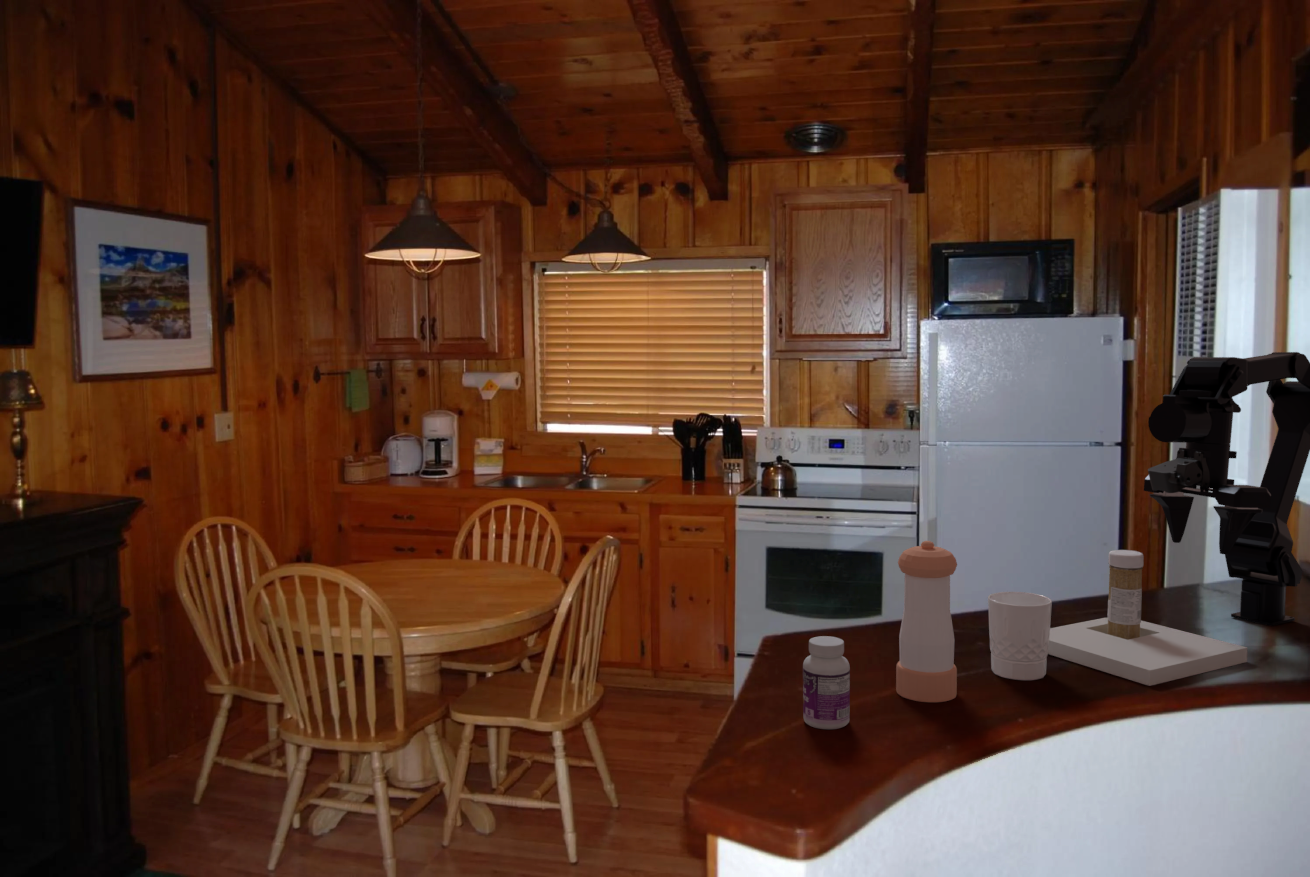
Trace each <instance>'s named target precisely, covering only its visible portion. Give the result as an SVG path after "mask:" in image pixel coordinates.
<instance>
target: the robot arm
mask: <svg viewBox="0 0 1310 877" xmlns="http://www.w3.org/2000/svg"><path fill="white" fill-rule="evenodd" d="M1284 379H1296V380H1297V381H1294V380H1293V381H1290V380H1289V381H1285V382H1283V381H1282V380H1284ZM1267 382H1268V384H1267V388H1266V391H1265V392H1266V395H1267V396H1268V398H1269V399H1270V400H1271V402H1272V404H1273V406H1272V412H1271V413H1272V416H1273V418H1274V421H1275V423H1276V427H1277V432H1276V436H1275V439H1274V442H1273V446H1272V448H1271V452H1270V454H1269V457H1268V460H1267V464H1266V468H1265V470H1264V473H1263V476H1262V479H1261V482H1260V486H1257V485H1256V486H1255V485H1250V484H1235V479H1231V478H1228V477H1229V476H1228V475H1229V466H1230V459H1237V453H1238V452H1237V451H1235V450H1231V445H1232V444H1231V443H1232V440H1231V439H1232V432H1233V431H1232V430H1233V429H1232V428H1233V420H1234V419H1233V417H1234V413H1235V414H1237V413H1241V411H1242V408H1241V407H1240V405H1239V404H1237V403H1236V401H1235V400H1234V399H1233V398H1234V397H1236V396H1237V395H1240V394H1242V393H1244V392H1246V391H1248V387H1249V386H1250V385H1255V384H1261V383H1262V384H1263V383H1267ZM1147 421H1148V428H1149V432H1150V433H1151V435H1152V437H1153V438H1155V439H1156V440H1157V441H1159V442H1162V443H1185V447H1179V448H1178V450H1177V452H1176V457H1175V458H1174V459H1172V460H1167V461H1165V462H1162V463H1160V464H1157V465H1154V466H1151V467H1149V468H1148V469H1147V472H1148V475H1147V476H1146V477H1145V478H1144V482H1143V492H1149V493H1150V494H1148V495H1149V497H1150V498H1152V499H1154V500H1155V501H1156V502H1157V503H1158V504H1159V505H1160V506H1161V508H1162V510H1163V514H1164V516H1165V519H1166V523H1167V527H1168V530H1169V533H1170V537H1171V540H1172V541H1171V542H1172V543H1175V544H1177V543H1179V544H1180V543H1181V542H1182V539H1183V538H1184V537H1183V536H1184V534H1185V531H1186V527H1187V525H1188V524H1187V523H1188V520H1189V517H1190V513H1191V509H1192V506H1193V503H1194V499H1195V496H1201V497H1207V498H1213V499H1215V500H1216V502H1217V503H1218V505H1215V506H1213V509H1214V510H1215V512H1216V514H1217V515H1218V517H1219V538H1218V545H1219V546H1218V548H1219V554H1221V555H1224V557H1225V562H1226V563H1225V564H1226V567H1227V572H1228V576H1229V578H1233V579H1234V578H1236V579H1242V580H1241V589H1240V590H1241V591H1240V606H1239V607H1240V608H1239V609H1240V610H1239V611H1237V612H1232V613H1230V617H1231V618H1234V619H1238V620H1243V621H1248V622H1252V623H1257V624H1261V625H1264V626H1273V627H1274V626H1276V625H1282V624H1285V623H1290V622H1294V621H1296V620H1295V619H1296V618H1295V617H1294V616H1289V615H1286V593H1287V587H1293V588H1294V587H1298V585H1300V584H1301V581H1302V575H1303V572H1304V571H1303V569H1302V567H1301V565H1300V564H1299V562H1298V560H1297V559H1296V557H1295V556H1294V554H1293V552H1292V551H1293V547H1294V541H1293V538H1292V536H1291V533H1290V529H1289V528H1288V520H1289V518H1290V514H1291V510H1292V508H1293V505H1294V502H1295V499H1296V495H1297V493H1298V489H1299V486H1300V484H1301V480H1302V477H1303V473H1304V470H1305V468H1306V465H1307V464H1306V463H1307V461H1308V457H1309V455H1310V360H1309V359H1308V357H1307V356H1306V355H1305V354H1303V353H1301V352H1298V351H1284V352H1283V351H1281V352H1279V351H1278V352H1277V351H1274V352H1271V353H1268V354H1265V355H1264V354H1263V355H1256V356H1252V357H1251V356H1250V357H1243V358H1241V357H1235V356H1234V357H1233V356H1232V357H1231V356H1230V357H1229V356H1219V357H1217V356H1216V357H1213V356H1210V357H1208V356H1207V357H1206V356H1201V357H1199V356H1196V357H1191V358H1189V359H1188V360H1187V362H1186V366H1184V367H1183V368H1182V371H1181V372H1180V374H1179V376H1178V378H1177V379H1176V382H1175V384H1174V386H1173V387H1172V390H1171V391H1170V393H1169V394H1164V395H1162V403H1160V404H1158V405H1157V406H1155V408H1153V410H1152V411H1151V414H1150V416H1148V420H1147ZM1197 487H1199V488H1197ZM1186 494H1190V495H1195V496H1190V495H1186ZM1219 505H1220V506H1219Z"/></svg>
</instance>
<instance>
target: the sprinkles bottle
mask: <svg viewBox="0 0 1310 877" xmlns="http://www.w3.org/2000/svg"><path fill="white" fill-rule="evenodd" d="M1144 557H1145V556H1144V554H1143V552H1140V551H1137V550H1131V549H1113V550H1110V551H1109V552H1108V565H1109V566H1108V569H1109V574H1108V576H1109V578H1108V599H1107V617H1108V634H1109V635H1112V636H1116V637H1120V638H1123V639H1127V640H1129V639H1133V638H1138V637H1140V623H1141V621H1142V598H1143V597H1142V594H1143V593H1142V592H1143V590H1142V589H1143V587H1142V580H1143V579H1142V577H1143V571H1142V570H1143V569H1144V568H1143V567H1144V561H1145V560H1144Z"/></svg>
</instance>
